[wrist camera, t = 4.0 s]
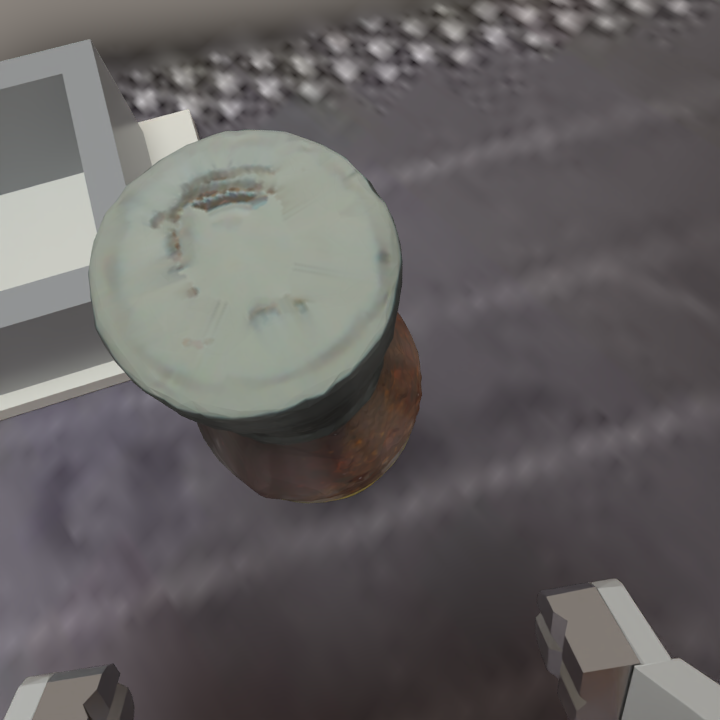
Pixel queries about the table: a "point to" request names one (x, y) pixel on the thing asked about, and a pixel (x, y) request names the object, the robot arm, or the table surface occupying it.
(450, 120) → the table surface
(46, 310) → the box
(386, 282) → the sauce bottle
